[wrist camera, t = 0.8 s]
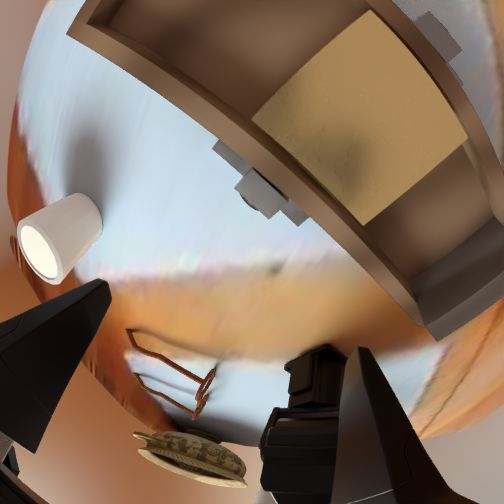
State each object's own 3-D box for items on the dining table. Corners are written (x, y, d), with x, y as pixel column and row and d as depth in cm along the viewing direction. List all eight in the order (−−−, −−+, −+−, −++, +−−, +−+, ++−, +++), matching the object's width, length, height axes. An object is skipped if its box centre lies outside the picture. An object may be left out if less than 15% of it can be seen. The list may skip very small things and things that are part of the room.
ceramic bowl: (125, 405, 53) (108, 438, 44) (183, 398, 41) (162, 447, 33) (216, 457, 61) (206, 486, 53) (287, 456, 50) (279, 493, 42)
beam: (500, 220, 14) (538, 265, 10) (406, 292, 20) (424, 348, 15) (208, -84, 6) (175, -125, 1) (103, 34, 11) (39, 35, 6)
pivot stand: (457, 84, 12) (503, 87, 7) (298, 220, 20) (291, 265, 16) (375, -6, 10) (396, -38, 6) (216, 145, 19) (181, 167, 14)
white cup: (70, 173, 22) (18, 203, 16) (116, 216, 24) (68, 257, 18) (57, 218, 26) (14, 251, 20) (96, 257, 27) (57, 297, 22)
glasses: (207, 400, 40) (198, 426, 36) (134, 371, 41) (122, 394, 37) (218, 361, 33) (206, 394, 29) (126, 324, 34) (108, 352, 29)
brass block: (427, 117, 11) (468, 137, 8) (347, 186, 14) (362, 225, 11) (347, 25, 9) (370, 9, 6) (261, 106, 12) (251, 119, 9)
